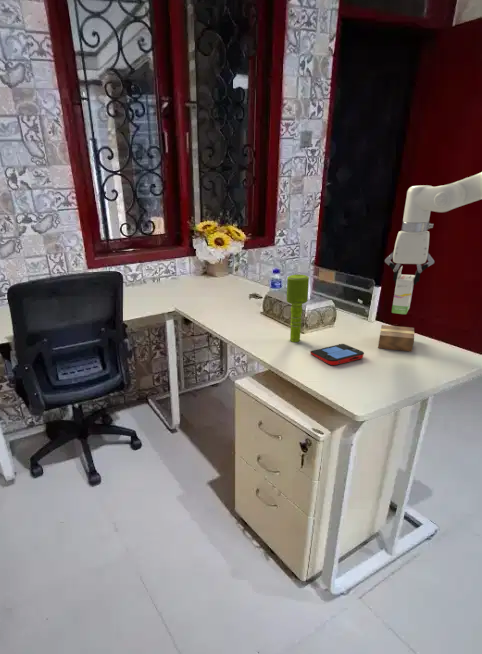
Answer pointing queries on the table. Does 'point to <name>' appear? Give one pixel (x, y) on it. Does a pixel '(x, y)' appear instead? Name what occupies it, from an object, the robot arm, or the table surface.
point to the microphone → (296, 302)
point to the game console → (338, 354)
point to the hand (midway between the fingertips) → (405, 282)
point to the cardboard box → (396, 338)
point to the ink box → (403, 293)
